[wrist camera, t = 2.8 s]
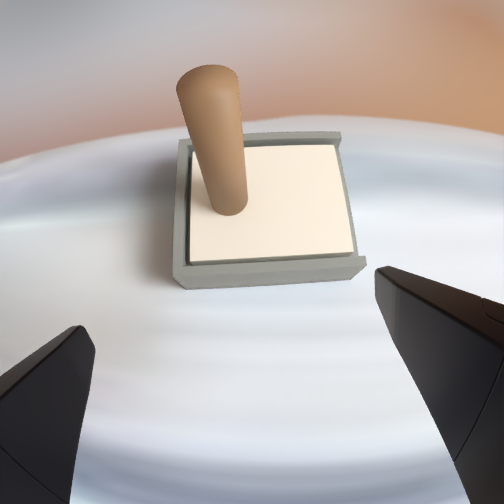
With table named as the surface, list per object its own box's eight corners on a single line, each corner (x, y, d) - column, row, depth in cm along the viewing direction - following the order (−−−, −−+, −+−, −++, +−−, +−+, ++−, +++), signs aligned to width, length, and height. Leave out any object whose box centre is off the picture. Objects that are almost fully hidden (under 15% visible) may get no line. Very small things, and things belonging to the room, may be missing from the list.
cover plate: (193, 265, 20) (129, 175, 10) (195, 159, 23) (158, 38, 12) (349, 256, 20) (424, 163, 10) (331, 152, 23) (366, 32, 12)
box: (186, 289, 22) (172, 276, 19) (189, 167, 26) (178, 139, 22) (350, 279, 22) (366, 265, 19) (330, 159, 25) (340, 131, 22)
